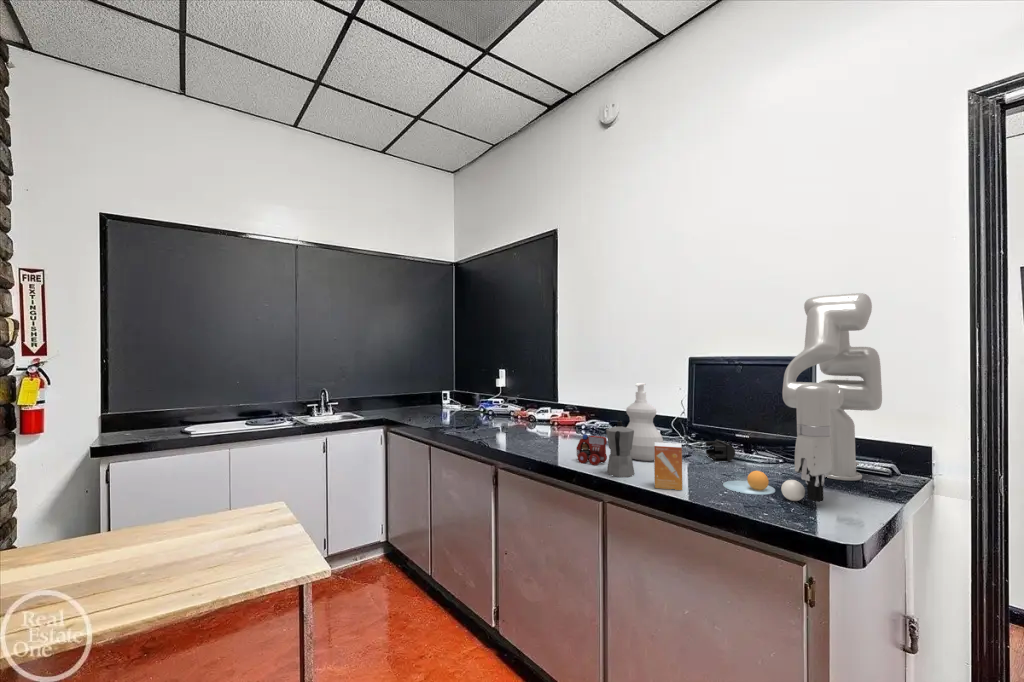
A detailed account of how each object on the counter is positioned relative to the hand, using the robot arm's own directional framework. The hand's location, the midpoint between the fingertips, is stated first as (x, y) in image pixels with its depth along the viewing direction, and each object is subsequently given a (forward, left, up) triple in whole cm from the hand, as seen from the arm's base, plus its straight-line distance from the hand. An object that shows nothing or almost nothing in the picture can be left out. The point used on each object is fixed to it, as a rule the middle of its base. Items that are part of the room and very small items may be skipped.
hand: (815, 500), depth 121 cm
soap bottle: (0, -63, -2) cm, 63 cm away
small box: (+20, -32, -2) cm, 38 cm away
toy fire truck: (+20, -69, -2) cm, 72 cm away
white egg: (+1, -5, +1) cm, 6 cm away
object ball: (0, -16, +1) cm, 16 cm away
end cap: (-25, -47, -2) cm, 53 cm away
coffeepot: (+23, -50, -2) cm, 55 cm away
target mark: (0, -19, -2) cm, 19 cm away
